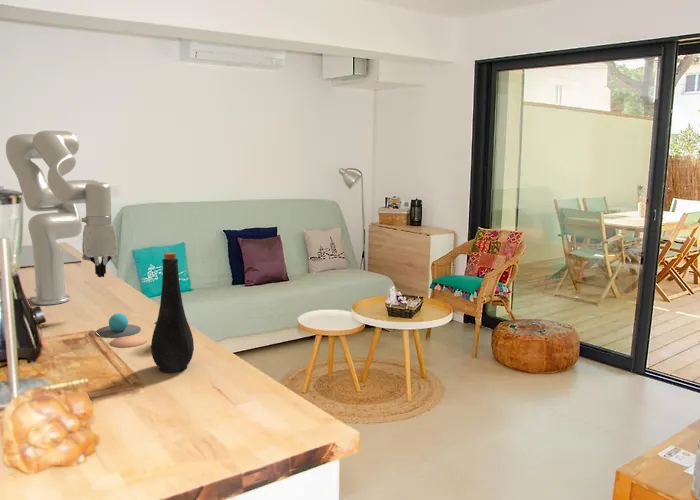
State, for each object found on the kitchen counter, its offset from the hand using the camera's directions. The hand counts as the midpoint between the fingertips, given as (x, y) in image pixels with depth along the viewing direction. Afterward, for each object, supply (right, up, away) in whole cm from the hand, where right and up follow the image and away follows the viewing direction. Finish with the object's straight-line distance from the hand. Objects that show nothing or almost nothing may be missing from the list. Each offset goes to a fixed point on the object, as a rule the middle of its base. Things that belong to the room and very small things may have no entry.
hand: (100, 276), depth 200 cm
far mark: (+18, -18, -23) cm, 34 cm away
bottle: (+36, -22, -43) cm, 60 cm away
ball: (+11, -14, -14) cm, 23 cm away
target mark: (+11, -16, -14) cm, 24 cm away
